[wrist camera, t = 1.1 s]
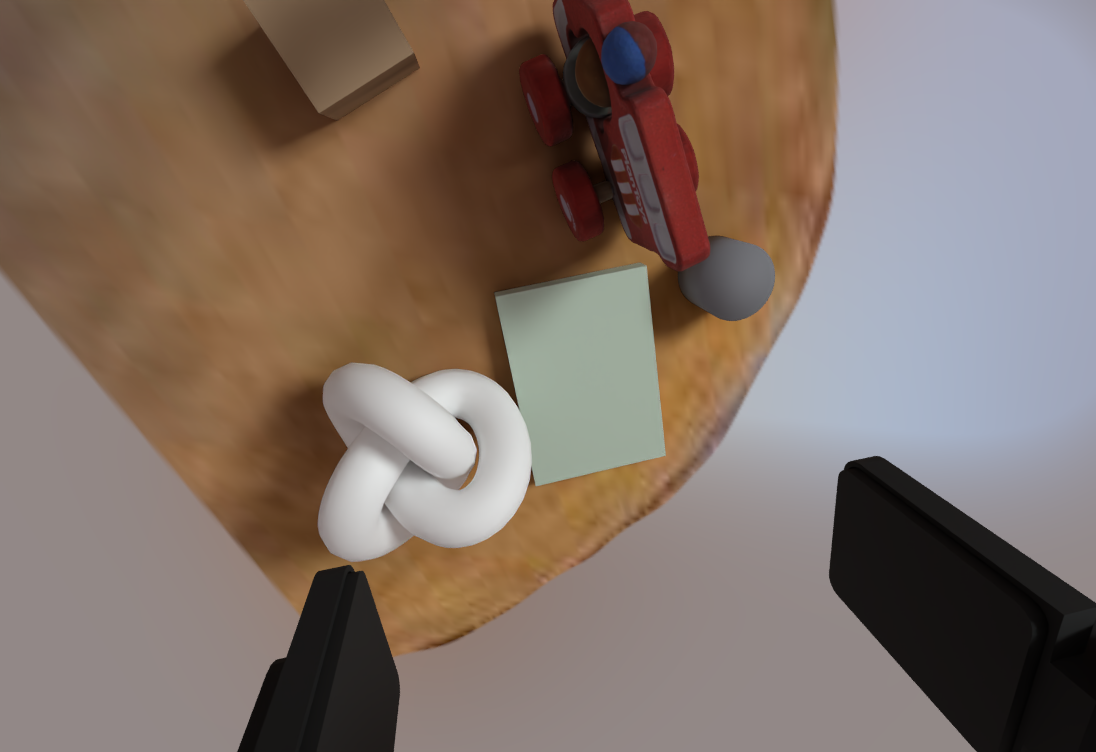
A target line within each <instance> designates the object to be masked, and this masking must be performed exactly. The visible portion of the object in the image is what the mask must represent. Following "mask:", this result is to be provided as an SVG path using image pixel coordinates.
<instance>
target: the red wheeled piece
mask: <svg viewBox="0 0 1096 752" xmlns="http://www.w3.org/2000/svg"><path fill="white" fill-rule="evenodd" d="M553 16H554V21H555V25H556V28H557V32H558V35H559V38H560V41H561V44H562V47H563V50H564V53H565V56H566V59H567V60H566V62H565V65H564V69H563V80H561V79H560V77H559V74H558V71H557V69H556V68H555V65H554V64H553V62H552V61H551V60H550V58H549V57H548V56H547V55H545V54H542V55H539V56H537V57H534V58H532V59H530V60H528V61H525V62H524V63H522V65H521V66H520V68H519V75H520V82H521V86H522V90H523V93H524V97H525V100H526V103H527V106H528V109H529V112H530V114H531V117H532V120H533V122H534V124H535V127H536V129H537V132H538V133H539V135H540V137H541V139H542V141H543V142H544V143H545V144H546V145H548V146H553V145H556V144H558V143H560V142H562V141H565V140H567V139H569V138H570V137H571V136H572V133H573V119H572V114H571V109H570V106H574V107H575V108H576V109H577V110H578V111H579V112H581V113H582V114H584V115H585V116H586V119H587V122H588V125H589V128H590V131H591V135H592V138H593V140H594V143H595V147H596V149H597V152H598V155H599V158H600V160H601V163H602V167H603V170H604V174H605V179H606V181H604V182H601V183H598V184H596V185H592V183H591V180H590V178H589V175H588V173H587V172H586V170H585V169H584V168H583V166H582V165H581V164H580V163H579V162H578V161H573V160H571V161H570V162H568V163H566V164H563V165H561V166H559V167H557V168H555V169H554V171H553V174H552V180H553V185H554V189H555V192H556V196H557V199H558V202H559V204H560V207H561V210H562V212H563V215H564V217H565V219H566V221H567V223H568V226H569V228H570V230H571V231H572V233H573V235H574V236H575V238H576V239H577V240H578V241H586V240H588V239H590V238H593V237H595V236H597V235H600V234H601V233H602V232H603V230H604V216H603V212H602V208H601V205H600V203H602V202H604V201H607V200H609V199H611V198H612V200H613V202H614V205H615V207H616V209H617V212H618V215H619V218H620V221H621V224H622V226H623V229H624V231H625V233H626V235H627V237H628V239H629V240H631V241H632V242H633V243H636V244H638V245H640V246H642V247H644V248H646V249H648V250H650V251H654V252H656V253H657V254H658V255H659V256H660V258H661V259H662V261H663V262H664V263H665V265H666V266H668V267H670V268H672V269H674V270H676V271H684V270H686V269H687V268H690V267H692V266H694V265H696V264H698V263H700V262H702V261H704V260H706V259H707V258H708V257H709V255H710V243H709V239H708V236H707V232H706V228H705V225H704V221H703V218H702V214H701V210H700V206H699V203H698V200H697V196H696V190H697V187H698V179H699V174H698V166H697V161H696V157H695V153H694V150H693V148H692V145H691V143H690V141H689V139H688V137H687V135H686V133H685V132H684V130H683V129H682V128H681V126H680V125H679V124H677V123H676V119H675V115H674V112H673V108H672V105H671V102H670V100H669V98H668V96H669V95H670V93H671V91H672V88H673V81H674V63H673V56H672V51H671V46H670V43H669V40H668V38H667V35H666V33H665V30H664V28H663V26H662V24H661V22H660V21H659V19H658V17H656V15H655V14H653V13H651V12H649V11H643V12H640V13H638V14H635V15H634V14H633V11H632V9H631V6H630V3H629V2H628V0H554V2H553Z"/></svg>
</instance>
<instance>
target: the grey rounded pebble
mask: <svg viewBox="0 0 1096 752" xmlns="http://www.w3.org/2000/svg"><path fill="white" fill-rule="evenodd" d="M708 239H709V243H710V255H709V257H708V258H707V259H706V260H704V261H702V262H700V263H698V264H696V265H694V266H692V267H690V268H687V269H686V270H684V271H678V283H679V287H680V289H681V291H682V293H683V295H684V296H685V297H686V298H687V299H688V300H689V301H690V302H692V303H694V304H695V305H697V306H699V307H700V308H702V309H704V310H706V311H707V312H709V313H711V314H712V315H714V316H716V317H718V318H720V319H723V320H727V321H737V320H742V319H745V318H747V317H749V316H751V315H753V314H754V313H756V312H757V311H758V310H759V309H760V308H761V307H762V306H763V305H764V304H765V303H766V301H767V300H768V298H769V296H770V295H771V292H772V290H773V286H774V282H775V270H774V265H773V262H772V260H771V258H770V257H769V255H768V254H767V253H766V252H765V251H764V250H763V249H762V248H760V247H758V246H756V245H753V244H749V243H746V242H742V241H738V240H734V239H731V238H727V237H723V236H709V237H708Z"/></svg>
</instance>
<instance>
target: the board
mask: <svg viewBox="0 0 1096 752" xmlns="http://www.w3.org/2000/svg"><path fill="white" fill-rule="evenodd" d="M494 294H495V299H496V303H497V308H498V313H499V317H500V322H501V327H502V331H503V336H504V341H505V345H506V350H507V355H508V359H509V364H510V369H511V373H512V378H513V383H514V387H515V392H516V397H517V402H518V406H519V411H520V413H521V415H522V417H523V419H524V421H525V424H526V426H527V430H528V434H529V438H530V442H531V454H532V466H531V467H532V472H533V476H534V481H535V485H536V486H539V485H543V484H547V483H552V482H556V481H560V480H564V479H569V478H573V477H577V476H581V475H586V474H590V473H594V472H598V471H603V470H607V469H611V468H615V467H619V466H624V465H628V464H632V463H636V462H641V461H645V460H649V459H653V458H658V457H662V456H666V454H665V444H664V434H663V424H662V414H661V404H660V395H659V385H658V375H657V365H656V355H655V345H654V335H653V325H652V315H651V305H650V295H649V286H648V276H647V266H646V265H644V264H642V263H635V264H630V265H625V266H621V267H616V268H611V269H606V270H601V271H596V272H591V273H586V274H582V275H577V276H572V277H567V278H562V279H557V280H552V281H547V282H543V283H538V284H533V285H528V286H523V287H518V288H513V289H508V290H504V291H499V292H494Z"/></svg>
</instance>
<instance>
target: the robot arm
mask: <svg viewBox="0 0 1096 752" xmlns="http://www.w3.org/2000/svg"><path fill="white" fill-rule="evenodd" d="M831 549H832V550H831V559H830V569H829V578H830V583H831V585H832V587H833V589H834V591H835V592H836V594H837V595H838V596H839V597H840V598H841V600H842V601H843V602H844V603H845V604H846V605H847V606H848V608H849V609H850V610H851V611H852V612H853V613H854V614H855V615H856V616H857V618H858V619H859V620H860V621H861V622H862V623H863V624H864V626H865V627H866V628H867V629H868V630H869V631H870V632H871V633H872V635H873V636H874V637H875V638H876V639H877V640H878V641H879V642H880V644H881V645H882V646H883V647H884V648H885V649H886V650H887V651H888V653H889V654H890V655H891V656H892V657H893V658H894V659H895V660H896V661H897V663H898V664H899V665H900V666H901V667H902V668H903V669H904V671H905V672H906V673H907V674H908V675H909V676H910V677H911V678H912V680H913V681H914V682H915V683H916V684H917V685H918V686H919V687H920V688H921V690H922V691H923V692H924V693H925V694H926V695H927V696H928V698H930V700H931V701H932V702H933V703H934V704H935V705H936V707H937V708H938V709H939V710H940V711H941V712H942V713H943V714H944V716H945V717H946V718H947V719H948V720H949V721H950V722H951V723H952V725H953V726H954V727H955V728H956V729H957V730H958V731H959V733H961V735H962V736H963V737H964V738H965V739H966V740H967V741H968V743H969V744H970V745H971V746H972V747H973V748H974V749H975V750H976V751H977V752H1096V603H1095V602H1093V601H1092V600H1091V599H1089V598H1088V597H1086V596H1085V595H1083V594H1082V593H1080V592H1079V591H1077V590H1076V589H1075V588H1073V587H1072V586H1070V585H1069V584H1067V583H1066V582H1064V581H1063V580H1061V579H1060V578H1058V577H1057V576H1056V575H1054V574H1053V573H1051V572H1050V571H1048V570H1047V569H1045V568H1044V567H1042V566H1041V565H1039V564H1038V563H1037V562H1035V561H1034V560H1032V559H1031V558H1029V557H1028V556H1026V555H1025V554H1023V553H1022V552H1020V551H1019V550H1017V549H1016V548H1015V547H1013V546H1012V545H1010V544H1009V543H1007V542H1006V541H1004V540H1003V539H1001V538H1000V537H998V536H997V535H996V534H994V533H993V532H991V531H990V530H988V529H987V528H985V527H984V526H982V525H981V524H979V523H978V522H977V521H975V520H973V519H972V518H971V517H969V516H967V515H966V514H965V513H963V512H962V511H960V510H959V509H957V508H956V507H954V506H953V505H952V504H950V503H949V502H947V501H946V500H944V499H943V498H941V497H940V496H938V495H937V494H936V493H934V492H933V491H931V490H930V489H928V488H927V487H925V486H924V485H922V484H921V483H919V482H918V481H916V480H915V479H913V478H912V477H911V476H909V475H908V474H906V473H905V472H903V471H902V470H900V469H899V468H897V467H896V466H894V465H893V464H891V463H890V462H889V461H887V460H886V459H884V458H882V457H880V456H873V457H868V458H864V459H859V460H854V461H850V462H848V463H847V464H846V465H845V468H844V470H843V471H841V472H840V473H839V476H838V485H837V495H836V506H835V516H834V527H833V538H832V548H831ZM399 697H400V685H399V677H398V672H397V669H396V666H395V663H394V660H393V657H392V654H391V651H390V648H389V645H388V642H387V639H386V636H385V633H384V630H383V627H382V624H381V621H380V618H379V615H378V612H377V609H376V605H375V602H374V599H373V596H372V593H371V590H370V587H369V584H368V581H367V578H366V575H365V573H364V572H363V571H358V572H355V571H354V569H353V567H352V566H351V565H346V566H342V567H337V568H332V569H327V570H322V571H318V572H317V573H316V575H315V577H314V579H313V582H312V585H311V588H310V591H309V594H308V596H307V599H306V602H305V605H304V608H303V611H302V614H301V617H300V620H299V623H298V625H297V629H296V631H295V634H294V637H293V640H292V643H291V646H290V648H289V651H288V654H287V657H286V658H282V659H277V660H275V661H274V662H273V663H272V664H271V666H270V668H269V670H268V672H267V674H266V677H265V679H264V682H263V685H262V687H261V690H260V693H259V695H258V698H257V701H256V703H255V707H254V709H253V711H252V714H251V717H250V719H249V722H248V725H247V728H246V730H245V733H244V735H243V738H242V741H241V743H240V746H239V749H238V751H237V752H394V743H395V733H396V723H397V714H398V705H399Z"/></svg>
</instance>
